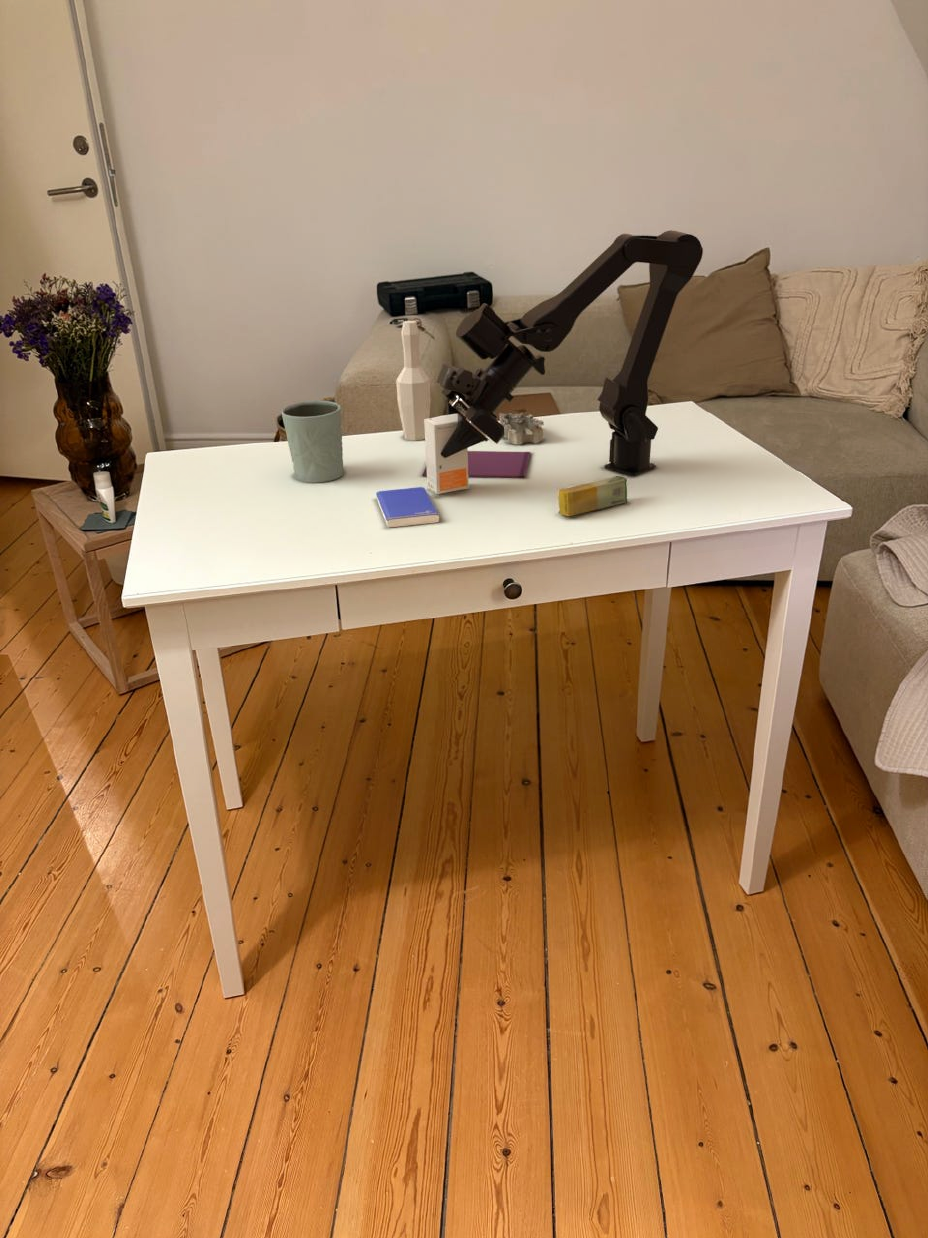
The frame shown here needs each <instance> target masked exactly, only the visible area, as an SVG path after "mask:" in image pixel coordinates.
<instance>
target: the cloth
mask: <svg viewBox="0 0 928 1238" xmlns="http://www.w3.org/2000/svg"><path fill="white" fill-rule="evenodd" d="M530 457H531V451H489V450H488V451H486V450H484V451H483V450H468V478H494V479H495V478H497V479H499V478H502V479H504V478H506V479H525V478H526V475H527V471H528V466H529V462H530ZM421 476H422V477H427V466H425V468H424V470H423V472H422V475H421Z"/></svg>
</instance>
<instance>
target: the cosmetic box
mask: <svg viewBox="0 0 928 1238" xmlns="http://www.w3.org/2000/svg"><path fill="white" fill-rule="evenodd" d="M457 426H458V414H451V415H446V414H444V415H438V416H435V417H429V418H428V419H424V427H425V439H424V444H425V445H424V446H425V447H424V448H425V464H426V466H427V476H426V481H427V482H426V484H427V488H428V489H429V490H430V491H432V492H433V493H435V494H436V495H441V494H445V493H450V492H457V491H460V490H461V491H462V490H468V489H470V488H469V487H470V485H469V477H468V451H469V450H468V448H469V447H468V448H466V449H464V450H462V451H460V452H458V453H455V454H453V455H451V456H449V457H447V458H444V457H443V456H442V455H441V452H442V450H443V448H444V446H445V445H446V443H447V442H448V440H449V439H450V437H451V436H452V434H453V433H454V431H455V430H456V428H457ZM426 466H425V467H426Z"/></svg>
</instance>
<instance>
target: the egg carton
mask: <svg viewBox="0 0 928 1238" xmlns="http://www.w3.org/2000/svg"><path fill="white" fill-rule="evenodd" d="M498 416H499V417H498V418H499V421H500V422H499V423H500V424H501V425H502V426H504V433H505V435H504V436H503V438H504V439H507V443H508V444H510V445H511V444H512V445H516V446H518V445H522V444H525V443H532V444H539V443H540V442H542V441H543V439H544V429H543V427H542V426H544V425H545V423H544V420H543V419H539V418H536V417H534V415H532V414H531V413H529V414H528V415H524V413H523V412H520V413H519V414H518V413H510V412H509V413H502V412H499V413H498Z"/></svg>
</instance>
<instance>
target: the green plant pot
mask: <svg viewBox="0 0 928 1238" xmlns="http://www.w3.org/2000/svg"><path fill="white" fill-rule="evenodd" d="M281 418H282V422H283V426H284V429H285V433H286V440H287V444H288V448H289V453H290V458H291V462H292V466H293V471H294V476H295V478H296V479H297V480H298V481H299V482H302V483H303V482H304V483H308V484H309V483H311V484H313V483H314V484H317V483H326V482H330V481H334V480H337V479H340V478H341V477H342V476H343V475H344V460H343V457H344V456H343V455H344V453H343V435H342V434H343V431H342V406H341V405H340V404H339V403H337V402H334V401H329V400H328V401H327V400H310V401H302V402H297V403H293V404H290V405H287V406H286V407H284V408H282V409H281Z"/></svg>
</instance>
